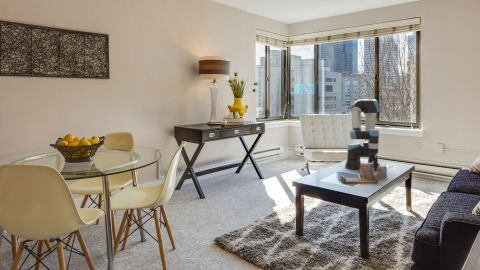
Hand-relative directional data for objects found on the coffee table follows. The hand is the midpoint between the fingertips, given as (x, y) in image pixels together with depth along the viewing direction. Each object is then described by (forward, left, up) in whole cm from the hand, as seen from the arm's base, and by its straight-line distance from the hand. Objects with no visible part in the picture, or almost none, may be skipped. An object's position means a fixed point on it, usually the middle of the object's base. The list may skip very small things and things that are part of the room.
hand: (372, 173), depth 285 cm
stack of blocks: (0, 0, -4) cm, 4 cm away
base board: (+15, -15, -3) cm, 22 cm away
